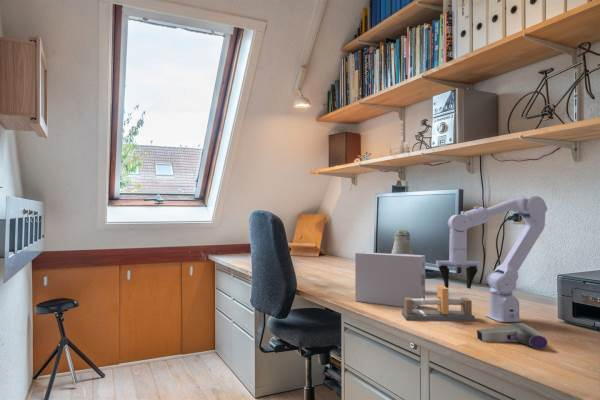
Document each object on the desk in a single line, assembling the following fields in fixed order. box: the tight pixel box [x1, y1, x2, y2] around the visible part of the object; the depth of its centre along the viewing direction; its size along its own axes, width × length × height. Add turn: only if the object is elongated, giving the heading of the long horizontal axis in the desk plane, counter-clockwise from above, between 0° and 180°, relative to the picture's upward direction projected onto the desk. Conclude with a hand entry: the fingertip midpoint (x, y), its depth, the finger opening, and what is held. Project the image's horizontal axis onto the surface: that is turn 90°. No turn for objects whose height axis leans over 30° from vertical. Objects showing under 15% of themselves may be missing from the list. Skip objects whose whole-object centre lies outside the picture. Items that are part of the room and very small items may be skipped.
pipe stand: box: [401, 297, 476, 322], centre depth 151 cm, size 23×8×7 cm, turn 87°
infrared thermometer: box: [476, 322, 548, 350], centre depth 122 cm, size 5×12×15 cm
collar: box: [436, 284, 450, 314], centre depth 151 cm, size 2×7×9 cm, turn 177°
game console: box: [354, 251, 426, 309], centre depth 173 cm, size 6×27×20 cm, turn 59°
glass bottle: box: [391, 229, 413, 255], centre depth 201 cm, size 10×10×28 cm
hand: (457, 287), depth 151 cm, fingers open, 7 cm apart
